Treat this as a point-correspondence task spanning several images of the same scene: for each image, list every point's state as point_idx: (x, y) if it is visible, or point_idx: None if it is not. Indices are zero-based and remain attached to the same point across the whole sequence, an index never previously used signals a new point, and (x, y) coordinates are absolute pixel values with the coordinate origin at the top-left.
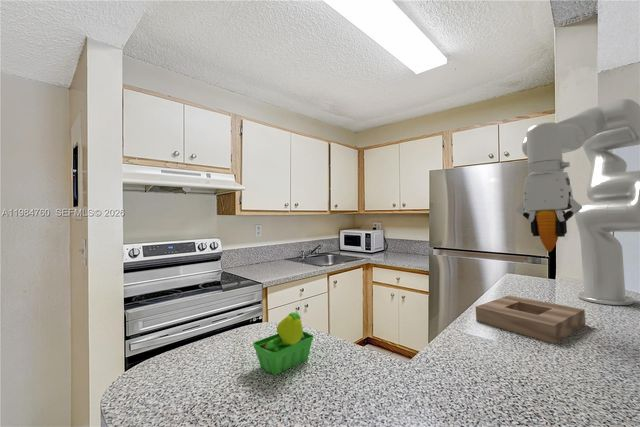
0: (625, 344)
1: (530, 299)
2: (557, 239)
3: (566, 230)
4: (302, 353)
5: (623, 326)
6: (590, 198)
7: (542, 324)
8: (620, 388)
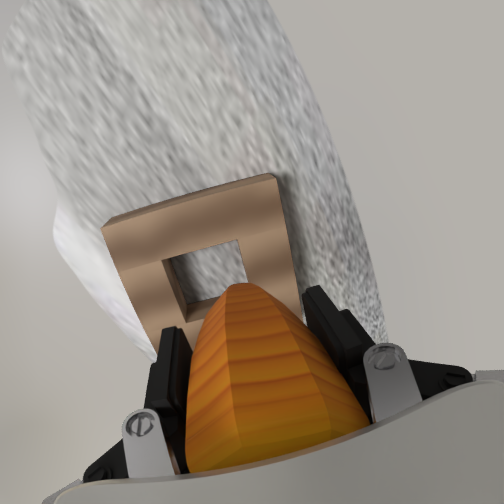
0: (348, 215)
1: (154, 213)
2: (285, 305)
3: (352, 318)
4: None
5: (305, 112)
6: None
7: None
8: (379, 340)
